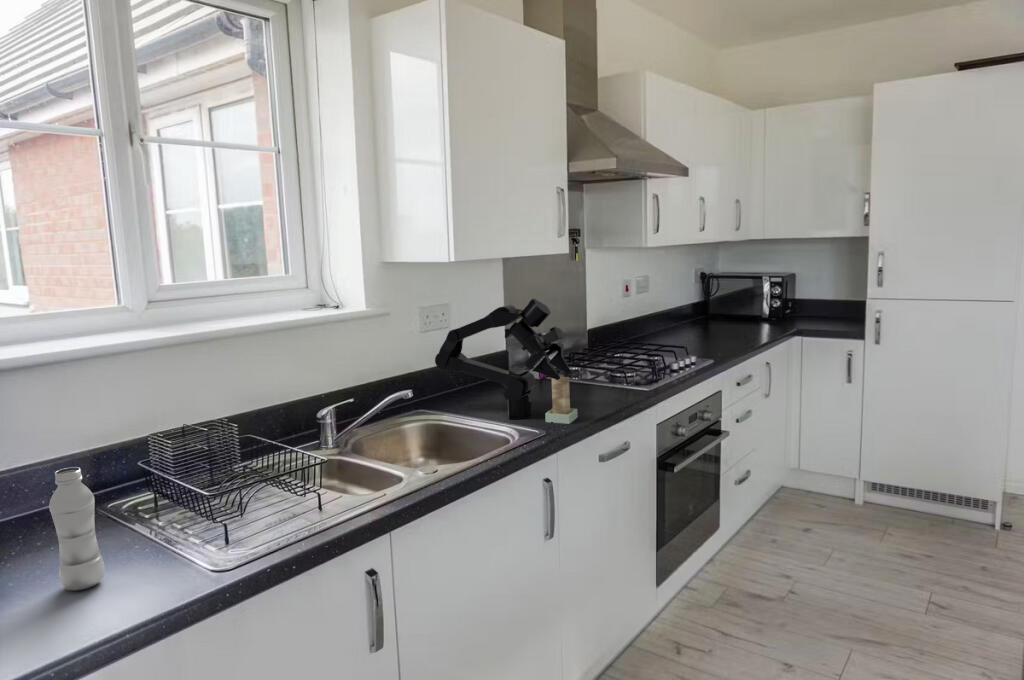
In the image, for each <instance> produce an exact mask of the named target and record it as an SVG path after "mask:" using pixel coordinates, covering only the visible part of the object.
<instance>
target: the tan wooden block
mask: <svg viewBox="0 0 1024 680" xmlns="http://www.w3.org/2000/svg"><path fill="white" fill-rule="evenodd" d="M570 396H571V395H570V377H569V376H560V379H559V380H556V379H554V378H551V399H552V401H551V403H552V409H553V414H565V415H569V414H570V409H571V400H570Z"/></svg>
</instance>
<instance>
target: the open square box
mask: <svg viewBox="0 0 1024 680" xmlns="http://www.w3.org/2000/svg"><path fill="white" fill-rule="evenodd" d="M544 414H545V416H544V417H545V423H551V422H553V423H554V424H565V425H566V424H567V425H569V424H572V423H573V422H574V421H575V420H576V419H577V418H578V416H579V415H578V408H570V414H569V415H565V414H553V408H551V409H550V410H548V411H547V412H546V413H544ZM553 423H552V424H553Z"/></svg>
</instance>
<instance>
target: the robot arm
mask: <svg viewBox="0 0 1024 680" xmlns="http://www.w3.org/2000/svg"><path fill="white" fill-rule="evenodd" d="M550 314H551V309H550V308H549V307H548V306H547V305H546V304H544V303H542V302H541V301H539V300H537V298H531V300H529V302H528V303H527V305H526V306H525V307H524V308H523V309H520V308H516V307H515V306H514V305H512V304H507V305H502V306H499V307H497V308H496V309H494V310H492V311H491V312H490V313H488V314H487V315H485V316H484V317H483V318H479V319H478V320H475V321H473V322H471V323H470V322H469V323H468V324H465V325H462V326H459V327H457V328H454V329H452V330H451V329H450V330H449V332H448V333H447V335H446V338H445V340H444V341H443V344H442V345H441V346H440V349H439V352H438V353H437V354H436V355H435V358H434V364H435V365H436V368H437V369H438V370H441V371H446V372H463V373H466V374H469V375H472V376H476V377H478V378H481V379H485V380H487V381H491V382H494V383H498V384H501V385H502V386H504V388H506V389H505V390H504V391H503V396H504V399H505V400H506V401H507V413H506V415H507V418H508V417H509V418H508V419H509V420H520V419H521V420H522V419H531V415H532V401H531V399H530V398H529V395H530V394H531V392H532V390H533V389H534V388H535V387H536V383H537V379H535V377H534V375H533V374H532V373H530V372H529V371H530V370H532V369H533V368H534V366H535V368H534V369H533V370H532V371H535V372H538V373H541V374H544V375H546V376H548V377H549V378H551V379H553V378H554V379H556V380H559V379H560V377H561V376H560V374H559V373H558V372H557V370H556V369H555V368H557V369H559V370H560V371H563V372H564V373H566V374H571V373H572V372H571V371H572V370H571V368H570V366H569V365H568V363H567V361H566V359H565V357H564V351H565V348H564V347H565V346H564V344H563V343H562V342H561V341H559V340H562V339H563V338H564V336H563V334H562V333H563V330H562V329H561V328H560V327H557V326H552V327H551V328H549V332H545V333H546V334H544V335H543V334H542V333H543V332H538V333H537V332H536V331H535V329H533V328H539V327H540V326H541V324H542V323H543V322H544V321H545V320H546V319H547V318H548V317H549V316H550ZM518 319H520V320H519V321H517V320H518ZM511 324H512V325H511ZM508 325H510V327H507V328H505V329H504V338H505V339H509V338H511V337H513V338H514V339H515V340H516V341H517V342H518V343H519V344H520V345H521V346H522V347H521V350H522V351H524V352H525V351H527V352H529V353H530V354H531V356H530V357H529V356H528V357H527V359H526V360H525V361H524V367H525V368H527V369H524V368H522V367H520V366H515V367H513V368H510V369H509V370H507V369H505V368H500V367H497V366H494V365H491V364H488V363H484V362H480V361H477V360H474V359H471V358H469V357H467V356H466V355H465V354H464V353H462V350H463V342H464V339H466V338H470V337H471V336H475V335H476V334H480V333H481V332H483V331H486V330H489V329H494V328H500V327H506V326H508ZM551 342H552V343H551ZM552 365H553V366H552ZM553 367H555V368H553Z"/></svg>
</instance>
